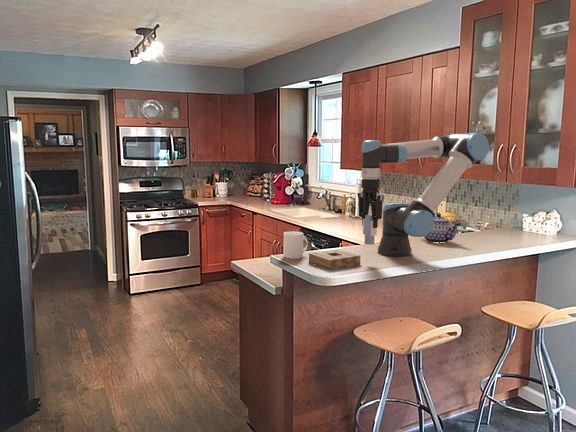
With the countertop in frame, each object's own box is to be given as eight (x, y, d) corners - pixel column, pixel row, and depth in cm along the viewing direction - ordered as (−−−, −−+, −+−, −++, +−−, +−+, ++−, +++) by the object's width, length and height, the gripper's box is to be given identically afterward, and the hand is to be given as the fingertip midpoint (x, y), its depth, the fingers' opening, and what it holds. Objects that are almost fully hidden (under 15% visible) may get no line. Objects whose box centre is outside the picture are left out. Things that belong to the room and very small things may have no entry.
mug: (313, 257, 215) (313, 233, 214) (290, 260, 209) (290, 235, 207) (301, 253, 223) (302, 230, 221) (279, 256, 216) (279, 232, 214)
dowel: (369, 242, 207) (370, 214, 205) (376, 243, 204) (376, 215, 202) (362, 243, 205) (363, 214, 203) (369, 244, 202) (369, 216, 200)
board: (338, 258, 213) (338, 249, 213) (360, 264, 202) (360, 255, 201) (308, 262, 205) (308, 253, 204) (329, 269, 193) (329, 260, 193)
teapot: (408, 239, 259) (409, 211, 257) (426, 236, 268) (427, 209, 266) (448, 247, 239) (450, 217, 237) (467, 244, 248) (469, 214, 246)
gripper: (349, 177, 205) (349, 232, 209) (378, 180, 191) (377, 238, 195) (363, 176, 210) (362, 230, 213) (392, 179, 196) (390, 236, 199)
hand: (369, 234), depth 204 cm, fingers closed on dowel, 4 cm apart
